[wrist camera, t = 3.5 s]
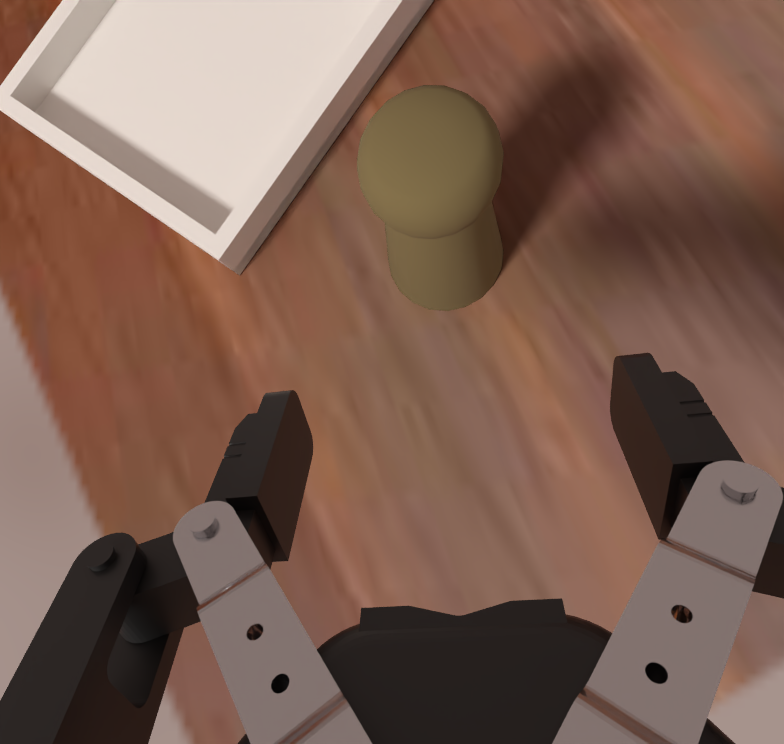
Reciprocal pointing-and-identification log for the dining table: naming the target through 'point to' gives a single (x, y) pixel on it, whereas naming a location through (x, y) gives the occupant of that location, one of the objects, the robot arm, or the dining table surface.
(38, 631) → the robot arm
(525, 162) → the dining table surface
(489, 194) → the olive pawn figure
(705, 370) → the dining table surface
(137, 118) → the tray
